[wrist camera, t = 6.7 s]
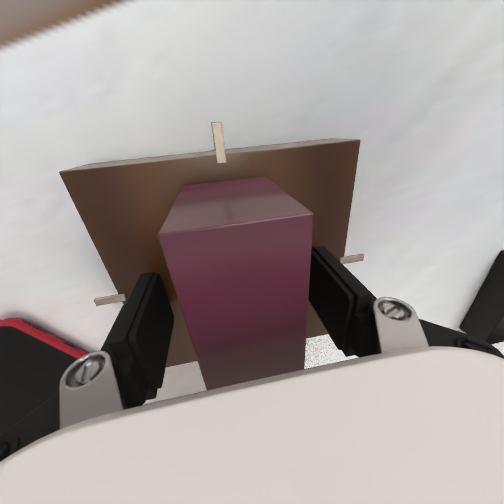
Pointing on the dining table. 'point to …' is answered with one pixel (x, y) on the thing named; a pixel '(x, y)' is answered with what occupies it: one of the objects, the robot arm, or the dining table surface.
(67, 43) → the dining table surface
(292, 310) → the bar
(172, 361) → the panel
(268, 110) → the dining table surface
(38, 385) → the smartphone
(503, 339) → the button block
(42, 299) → the dining table surface
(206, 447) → the robot arm
